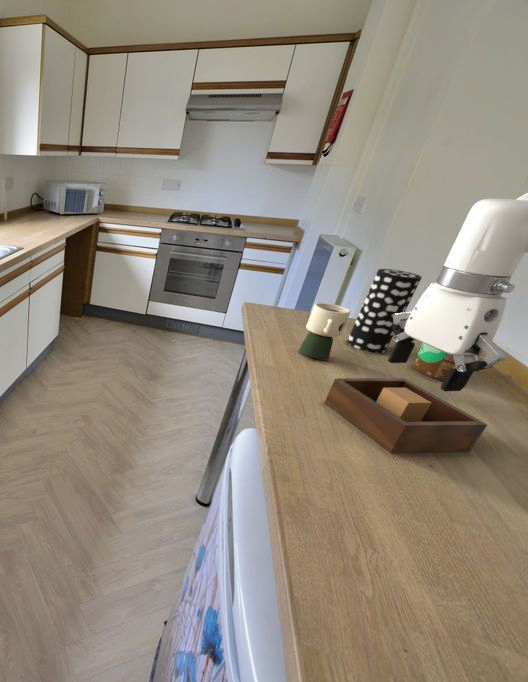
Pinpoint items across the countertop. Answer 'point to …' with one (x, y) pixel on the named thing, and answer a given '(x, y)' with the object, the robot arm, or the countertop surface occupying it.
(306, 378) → the countertop surface
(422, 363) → the food container
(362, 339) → the white-spotted black cylinder
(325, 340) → the character mug
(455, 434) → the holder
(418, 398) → the box
